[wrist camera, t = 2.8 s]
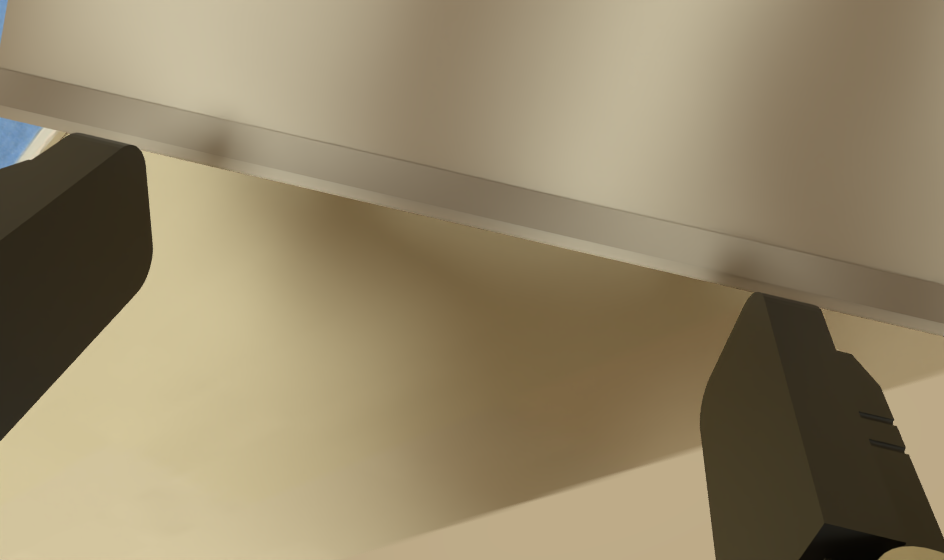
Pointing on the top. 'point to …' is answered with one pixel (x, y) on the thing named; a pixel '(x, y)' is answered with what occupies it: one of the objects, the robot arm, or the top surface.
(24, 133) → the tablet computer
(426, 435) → the top surface
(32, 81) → the plank
